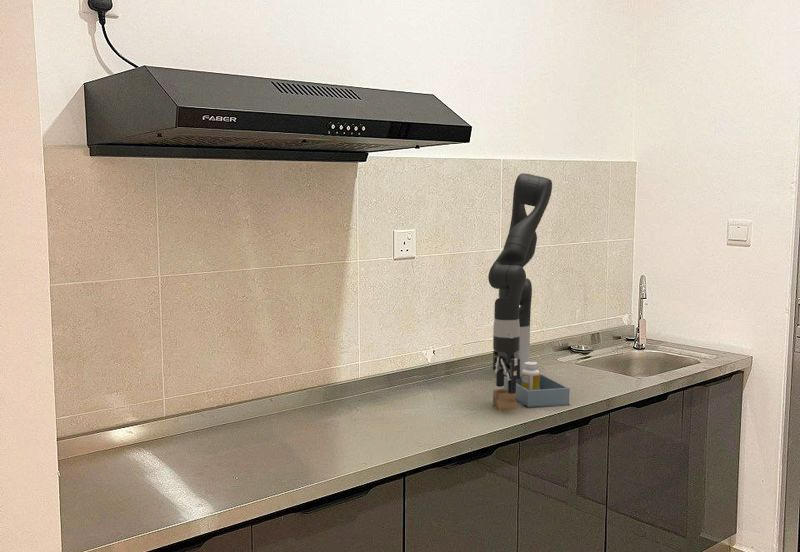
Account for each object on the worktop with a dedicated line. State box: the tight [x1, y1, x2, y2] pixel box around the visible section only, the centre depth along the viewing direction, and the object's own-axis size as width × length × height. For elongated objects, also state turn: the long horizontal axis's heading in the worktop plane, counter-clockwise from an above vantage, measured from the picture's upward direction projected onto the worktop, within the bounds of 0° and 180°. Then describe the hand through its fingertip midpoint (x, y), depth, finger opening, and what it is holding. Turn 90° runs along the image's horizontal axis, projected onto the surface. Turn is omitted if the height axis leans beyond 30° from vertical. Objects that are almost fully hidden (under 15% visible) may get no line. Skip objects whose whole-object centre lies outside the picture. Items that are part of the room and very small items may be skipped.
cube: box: [492, 388, 517, 412], centre depth 222 cm, size 5×5×5 cm
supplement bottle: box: [522, 361, 541, 391], centre depth 235 cm, size 5×5×10 cm
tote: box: [502, 374, 571, 409], centre depth 232 cm, size 18×13×5 cm
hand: (505, 389), depth 221 cm, fingers open, 8 cm apart
